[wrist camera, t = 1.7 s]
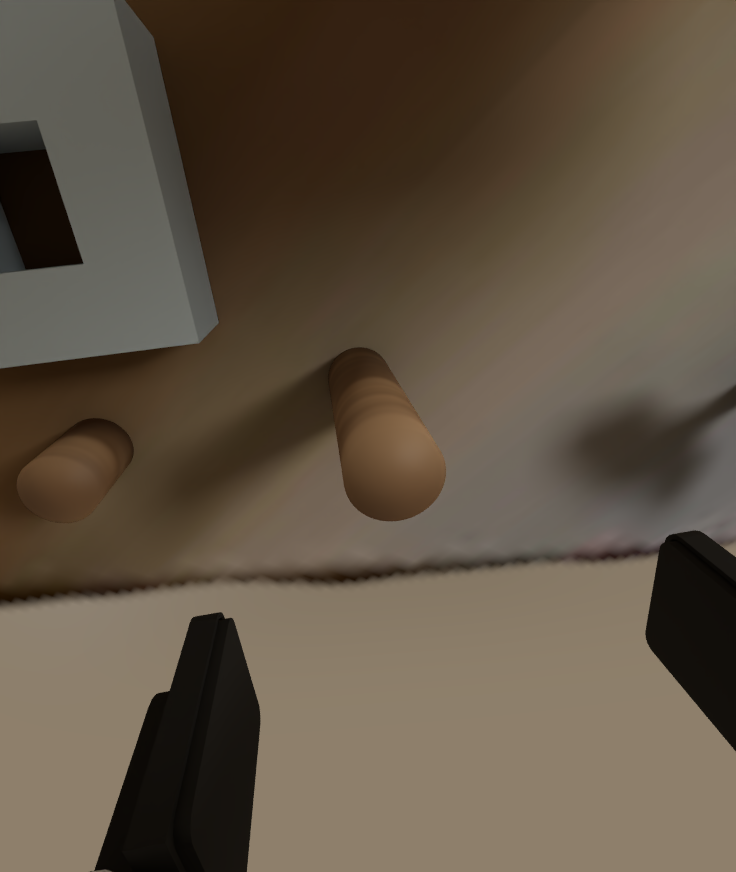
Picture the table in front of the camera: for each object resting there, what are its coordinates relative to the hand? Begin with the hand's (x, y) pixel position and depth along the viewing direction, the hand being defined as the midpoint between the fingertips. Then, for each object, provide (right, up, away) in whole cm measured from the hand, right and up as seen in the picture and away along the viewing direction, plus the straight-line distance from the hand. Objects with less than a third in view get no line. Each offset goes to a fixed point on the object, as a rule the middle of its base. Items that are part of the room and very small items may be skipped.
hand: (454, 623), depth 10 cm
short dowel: (-17, +3, +17) cm, 24 cm away
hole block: (-16, +15, +12) cm, 25 cm away
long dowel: (-2, +7, +17) cm, 18 cm away
